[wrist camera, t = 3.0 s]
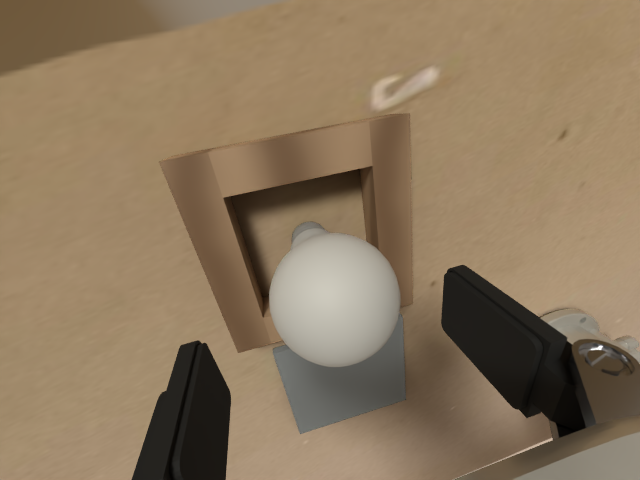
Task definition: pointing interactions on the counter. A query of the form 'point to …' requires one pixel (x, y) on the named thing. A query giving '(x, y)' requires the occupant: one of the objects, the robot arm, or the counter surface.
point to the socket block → (284, 168)
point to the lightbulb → (333, 297)
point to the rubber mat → (343, 384)
